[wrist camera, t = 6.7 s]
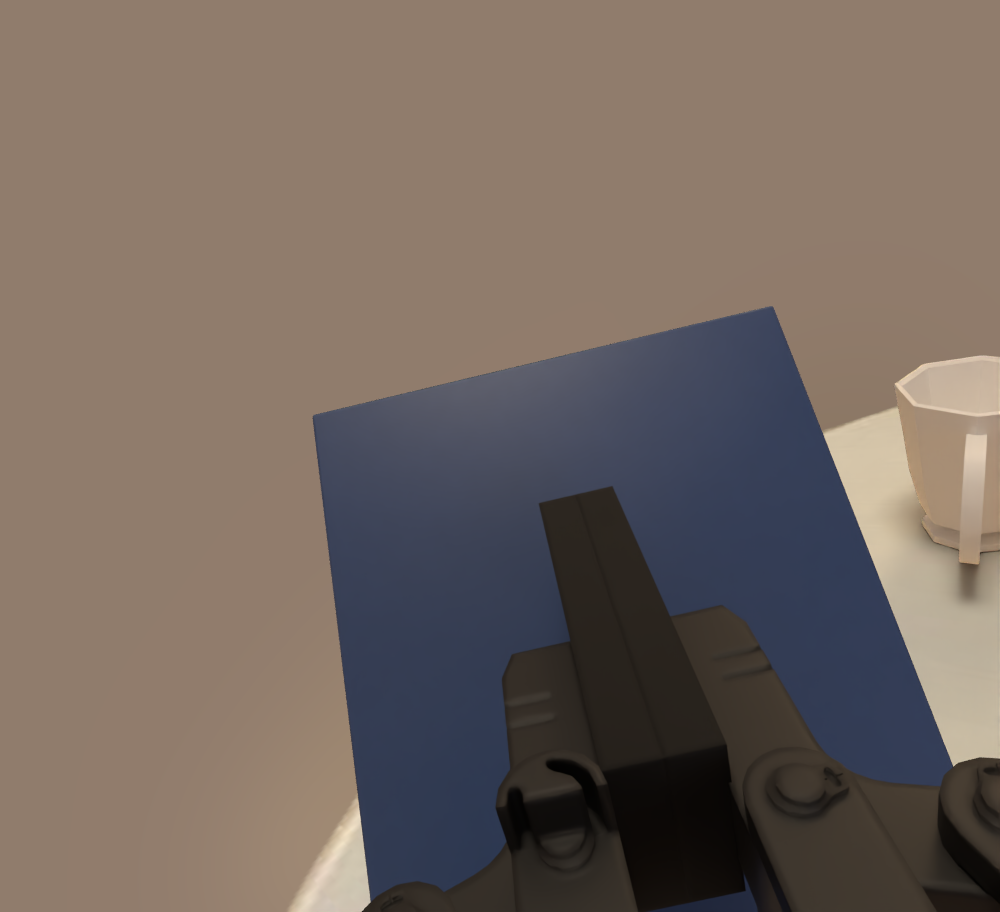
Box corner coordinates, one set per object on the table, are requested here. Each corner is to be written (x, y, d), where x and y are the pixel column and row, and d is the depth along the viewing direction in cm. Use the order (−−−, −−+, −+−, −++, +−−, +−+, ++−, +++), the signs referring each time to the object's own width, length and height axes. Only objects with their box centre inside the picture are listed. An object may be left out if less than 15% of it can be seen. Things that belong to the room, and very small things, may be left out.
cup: (1054, 498, 38) (1071, 352, 34) (1065, 621, 31) (1088, 451, 27) (900, 488, 42) (902, 355, 38) (877, 595, 34) (877, 443, 31)
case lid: (322, 426, 19) (311, 414, 18) (766, 320, 18) (773, 304, 18) (408, 1113, 14) (397, 1136, 13) (1024, 992, 13) (1050, 1009, 13)
